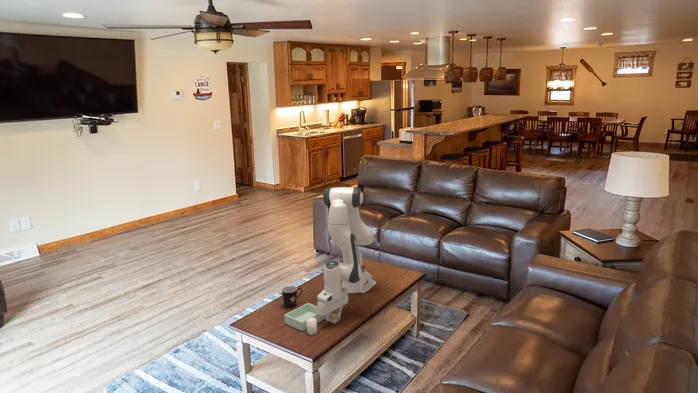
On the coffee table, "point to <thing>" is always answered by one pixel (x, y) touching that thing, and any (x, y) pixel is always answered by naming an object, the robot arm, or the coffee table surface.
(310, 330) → the ceramic cylinder
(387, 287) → the coffee table surface
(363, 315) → the coffee table surface
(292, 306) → the coffee mug
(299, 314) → the tray
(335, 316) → the beech cube
